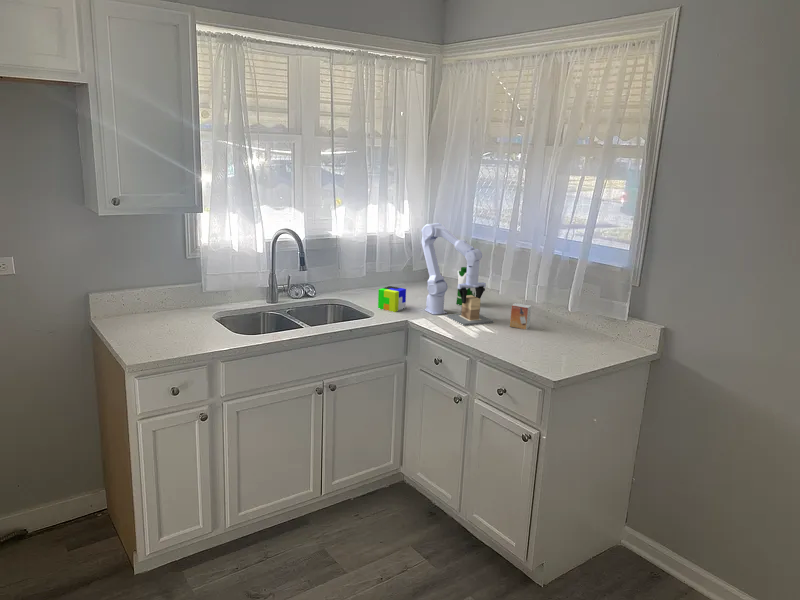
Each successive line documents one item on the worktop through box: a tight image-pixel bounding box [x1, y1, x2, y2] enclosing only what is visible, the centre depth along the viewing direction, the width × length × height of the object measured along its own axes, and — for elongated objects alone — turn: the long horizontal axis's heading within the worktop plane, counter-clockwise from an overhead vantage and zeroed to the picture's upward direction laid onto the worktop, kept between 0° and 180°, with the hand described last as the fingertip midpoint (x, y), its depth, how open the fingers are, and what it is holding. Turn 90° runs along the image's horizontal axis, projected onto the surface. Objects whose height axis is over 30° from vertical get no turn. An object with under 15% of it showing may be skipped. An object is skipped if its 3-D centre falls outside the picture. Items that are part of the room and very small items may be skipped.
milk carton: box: [455, 266, 476, 306], centre depth 318 cm, size 9×9×20 cm
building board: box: [446, 313, 494, 326], centre depth 293 cm, size 16×16×1 cm
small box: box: [509, 302, 532, 331], centre depth 283 cm, size 8×6×10 cm
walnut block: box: [460, 306, 481, 320], centre depth 292 cm, size 8×5×5 cm, turn 26°
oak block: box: [461, 295, 481, 310], centre depth 290 cm, size 8×5×5 cm, turn 25°
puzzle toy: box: [377, 285, 407, 313], centre depth 307 cm, size 10×10×10 cm
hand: (470, 302), depth 291 cm, fingers open, 7 cm apart
